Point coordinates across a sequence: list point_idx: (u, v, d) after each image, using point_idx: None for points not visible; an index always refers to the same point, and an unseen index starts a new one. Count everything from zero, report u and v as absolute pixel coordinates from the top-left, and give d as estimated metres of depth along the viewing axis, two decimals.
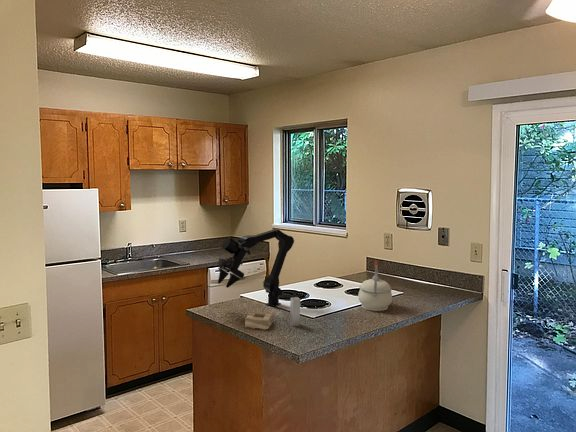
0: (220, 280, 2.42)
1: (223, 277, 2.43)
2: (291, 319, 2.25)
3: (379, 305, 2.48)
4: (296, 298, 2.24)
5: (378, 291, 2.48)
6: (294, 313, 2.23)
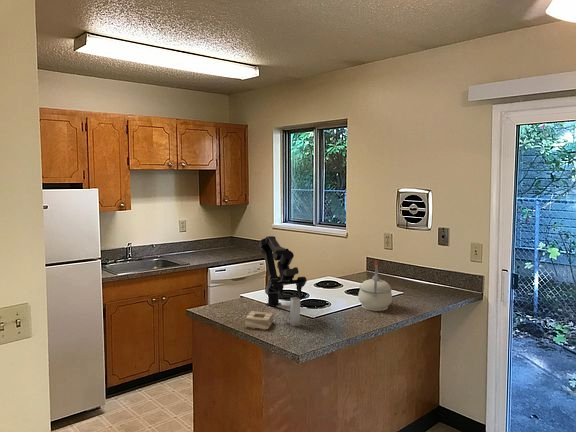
0: None
1: None
2: (291, 319, 2.25)
3: (379, 305, 2.48)
4: (296, 298, 2.24)
5: (378, 291, 2.48)
6: (294, 313, 2.23)
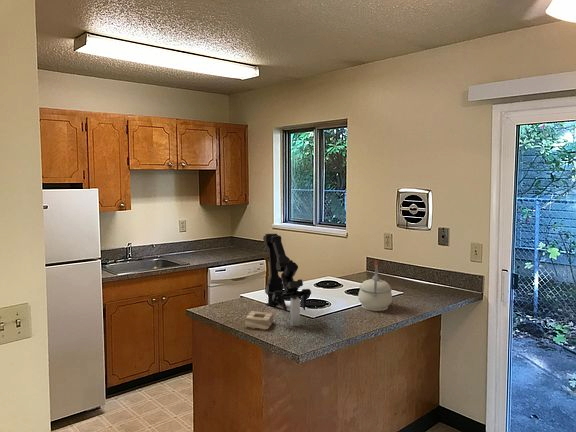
0: None
1: None
2: (291, 319, 2.25)
3: (379, 305, 2.48)
4: (296, 298, 2.24)
5: (378, 291, 2.48)
6: (294, 313, 2.23)
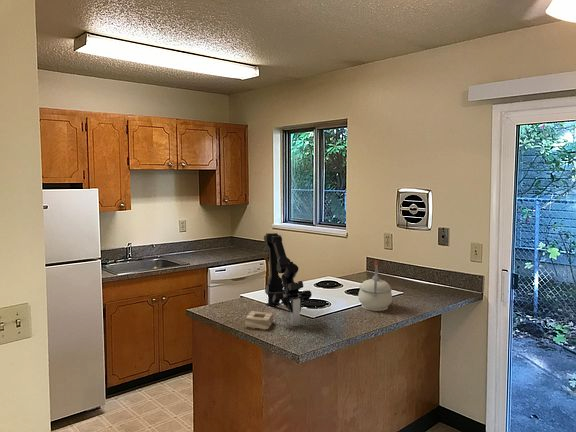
0: None
1: None
2: (291, 319, 2.25)
3: (379, 305, 2.48)
4: (296, 298, 2.24)
5: (378, 291, 2.48)
6: (294, 313, 2.23)
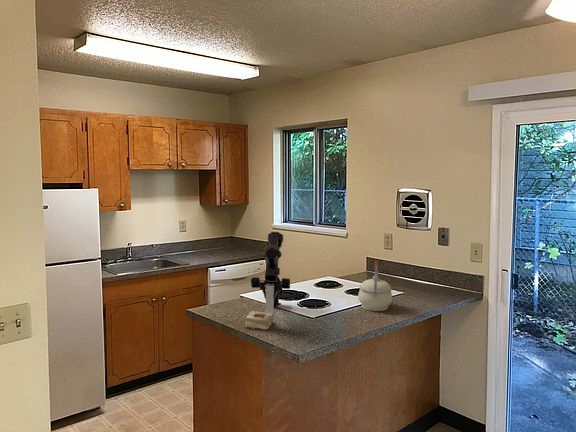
0: (265, 295, 2.22)
1: None
2: None
3: (379, 305, 2.48)
4: (271, 284, 2.22)
5: (378, 291, 2.48)
6: (267, 299, 2.21)
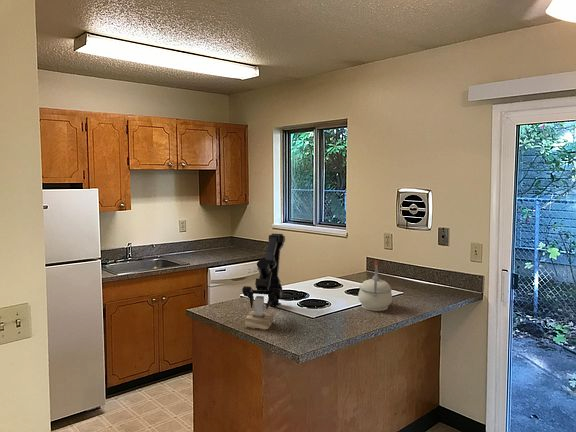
0: (252, 304, 2.24)
1: (252, 301, 2.26)
2: None
3: (379, 305, 2.48)
4: (260, 297, 2.22)
5: (378, 291, 2.48)
6: (256, 312, 2.22)
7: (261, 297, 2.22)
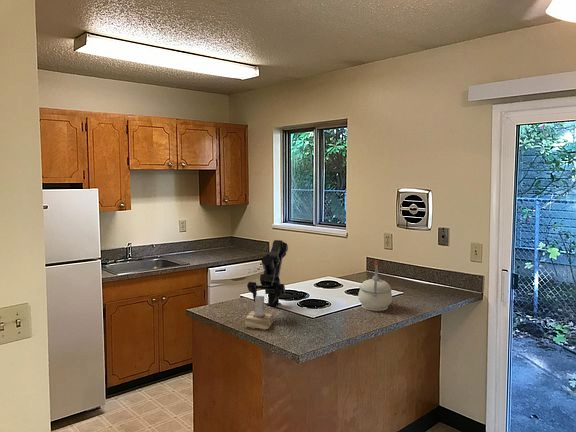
0: None
1: (255, 296, 2.35)
2: None
3: (379, 305, 2.48)
4: (260, 297, 2.23)
5: (378, 291, 2.48)
6: (256, 312, 2.22)
7: (261, 297, 2.23)
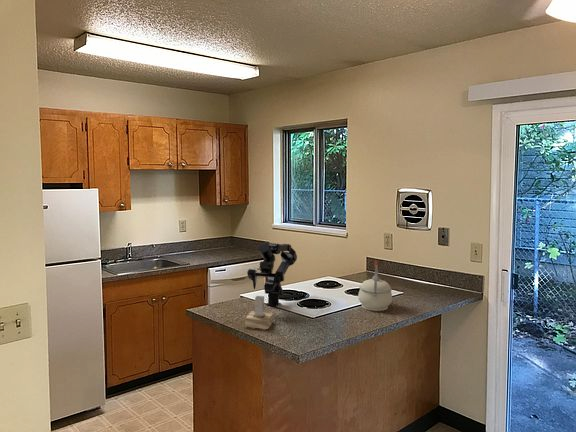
0: (255, 286, 2.39)
1: (255, 283, 2.41)
2: None
3: (379, 305, 2.48)
4: (260, 297, 2.23)
5: (378, 291, 2.48)
6: (256, 312, 2.22)
7: (261, 297, 2.23)
